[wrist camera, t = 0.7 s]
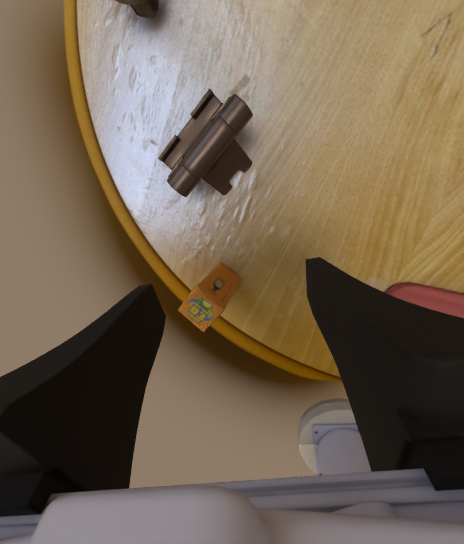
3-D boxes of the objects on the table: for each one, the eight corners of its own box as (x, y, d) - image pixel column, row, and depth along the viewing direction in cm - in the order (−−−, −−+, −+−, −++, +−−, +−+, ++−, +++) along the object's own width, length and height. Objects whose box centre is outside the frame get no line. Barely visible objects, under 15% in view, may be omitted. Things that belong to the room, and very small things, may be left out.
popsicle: (526, 363, 26) (377, 324, 27) (512, 355, 27) (372, 318, 29) (553, 316, 24) (396, 278, 26) (537, 311, 26) (389, 275, 27)
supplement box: (205, 281, 31) (173, 309, 22) (222, 261, 30) (197, 281, 21) (224, 298, 31) (202, 334, 22) (242, 279, 30) (227, 307, 21)
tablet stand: (214, 95, 27) (189, 42, 19) (267, 147, 27) (264, 117, 19) (165, 161, 29) (123, 139, 21) (213, 208, 29) (190, 205, 21)
